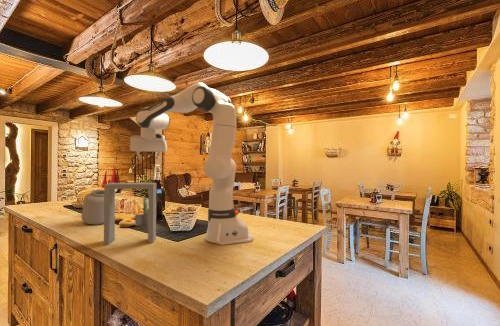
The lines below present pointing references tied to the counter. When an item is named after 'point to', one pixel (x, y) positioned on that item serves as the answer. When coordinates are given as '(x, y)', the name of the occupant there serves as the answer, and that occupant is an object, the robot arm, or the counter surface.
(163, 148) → the robot arm
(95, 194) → the jar
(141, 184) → the stand
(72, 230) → the counter surface
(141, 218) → the hook tool
